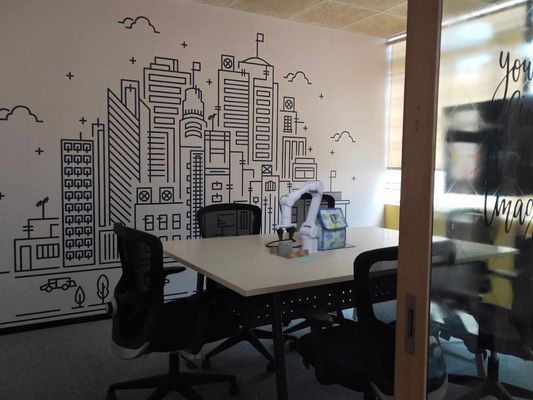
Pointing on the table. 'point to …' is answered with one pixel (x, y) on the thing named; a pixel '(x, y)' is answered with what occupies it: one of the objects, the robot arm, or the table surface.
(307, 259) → the teal mat
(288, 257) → the walnut rack
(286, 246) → the gray rectangular block
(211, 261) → the table surface
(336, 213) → the lunch bag
